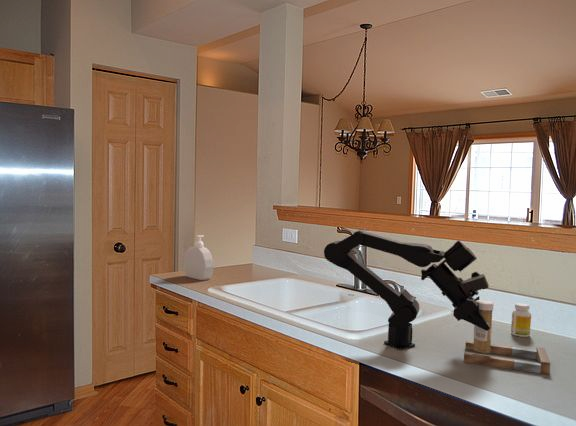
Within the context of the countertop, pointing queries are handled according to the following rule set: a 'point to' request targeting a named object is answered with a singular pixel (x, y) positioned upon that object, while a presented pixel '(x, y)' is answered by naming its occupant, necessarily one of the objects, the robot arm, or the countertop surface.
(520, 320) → the supplement bottle
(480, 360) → the walnut slot
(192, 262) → the soap bottle
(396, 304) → the robot arm
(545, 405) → the countertop surface
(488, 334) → the sprinkles bottle
